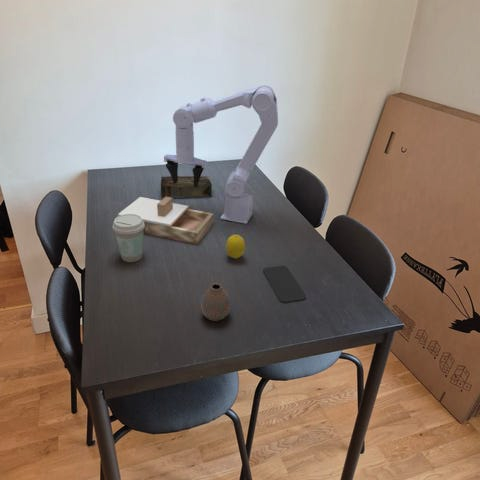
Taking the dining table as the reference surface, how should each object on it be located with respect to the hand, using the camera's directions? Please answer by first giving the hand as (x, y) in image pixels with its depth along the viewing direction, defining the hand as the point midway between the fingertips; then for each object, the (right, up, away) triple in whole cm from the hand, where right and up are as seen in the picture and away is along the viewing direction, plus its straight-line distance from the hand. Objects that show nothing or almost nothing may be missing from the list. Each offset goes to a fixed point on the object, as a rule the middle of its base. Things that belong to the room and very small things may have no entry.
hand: (185, 184), depth 133 cm
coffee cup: (-13, -24, -20) cm, 34 cm away
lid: (-9, -10, -5) cm, 15 cm away
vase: (+13, -37, -40) cm, 56 cm away
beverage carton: (-2, -2, +18) cm, 19 cm away
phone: (+30, -31, -27) cm, 51 cm away
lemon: (+17, -25, -18) cm, 35 cm away
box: (-1, -15, -5) cm, 16 cm away
